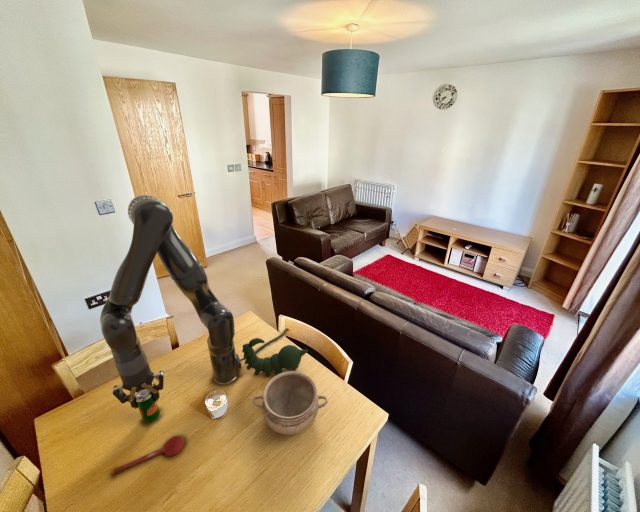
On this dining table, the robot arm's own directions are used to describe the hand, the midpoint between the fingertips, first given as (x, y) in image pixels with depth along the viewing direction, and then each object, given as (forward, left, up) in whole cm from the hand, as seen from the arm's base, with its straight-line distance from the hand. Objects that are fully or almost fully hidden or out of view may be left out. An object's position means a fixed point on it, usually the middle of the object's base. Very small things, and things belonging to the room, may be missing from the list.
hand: (146, 402), depth 90 cm
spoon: (+1, +14, -8) cm, 16 cm away
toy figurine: (-45, +1, -8) cm, 46 cm away
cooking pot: (-42, +22, -8) cm, 48 cm away
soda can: (0, 0, -8) cm, 8 cm away
